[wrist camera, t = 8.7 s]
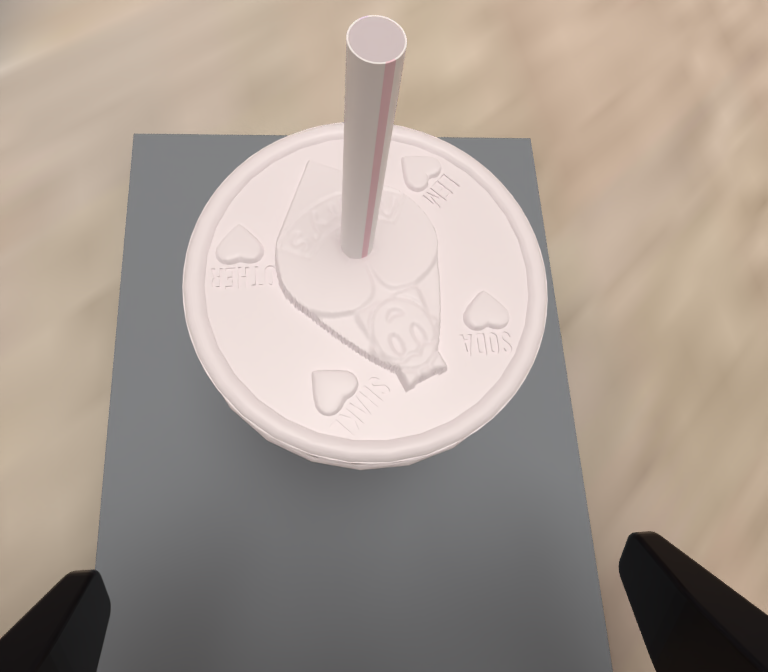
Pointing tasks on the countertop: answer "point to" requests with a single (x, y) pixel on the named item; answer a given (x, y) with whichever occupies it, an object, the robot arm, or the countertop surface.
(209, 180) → the slate mat
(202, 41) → the countertop surface
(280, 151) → the smoothie
